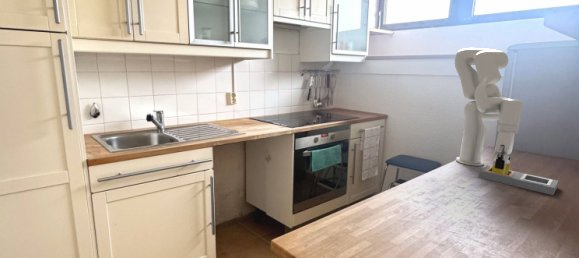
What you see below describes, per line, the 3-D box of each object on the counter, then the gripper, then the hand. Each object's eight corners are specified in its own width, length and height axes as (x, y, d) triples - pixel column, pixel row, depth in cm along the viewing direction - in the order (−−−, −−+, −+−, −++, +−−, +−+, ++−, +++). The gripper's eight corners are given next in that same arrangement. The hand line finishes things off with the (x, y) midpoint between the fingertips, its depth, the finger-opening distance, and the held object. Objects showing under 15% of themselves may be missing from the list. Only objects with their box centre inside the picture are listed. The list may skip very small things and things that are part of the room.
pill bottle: (502, 176, 144) (506, 152, 142) (510, 181, 138) (514, 156, 136) (487, 175, 145) (491, 151, 142) (495, 180, 139) (499, 155, 136)
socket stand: (486, 171, 150) (487, 164, 149) (556, 187, 132) (558, 180, 131) (478, 177, 142) (479, 170, 141) (553, 195, 124) (554, 187, 123)
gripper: (502, 125, 145) (496, 161, 148) (492, 128, 133) (486, 168, 136) (522, 127, 140) (516, 165, 143) (513, 131, 128) (507, 172, 131)
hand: (501, 166), depth 139 cm, fingers open, 9 cm apart
